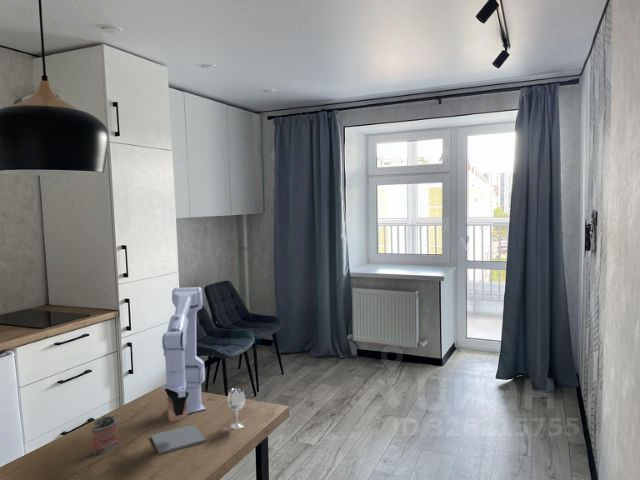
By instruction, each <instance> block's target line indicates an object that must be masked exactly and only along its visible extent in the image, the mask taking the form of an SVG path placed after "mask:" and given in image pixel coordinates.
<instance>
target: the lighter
mask: <svg viewBox="0 0 640 480" xmlns="http://www.w3.org/2000/svg"><path fill="white" fill-rule="evenodd" d="M93 425H94V427H92V428H91V434H92V446H93V447H92V455H93V456H98V455H101V454H104V453H107V452H109V451H112V450H114V449H115V448H116V447H118V446H120V440H119V427H118V426H119V420H118V419H115V415H114V414H110V415H106V414H105V415H103V416H102V418H101V417H100V418H97V419H95V420H94V421H93Z"/></svg>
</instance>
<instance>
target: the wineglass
mask: <svg viewBox="0 0 640 480" xmlns="http://www.w3.org/2000/svg"><path fill="white" fill-rule="evenodd" d="M226 403H227V406H228V408H229V409H230V410H232V411H234V414H235V423H232V424H231V425H230V426H229V427H230V429H231V430H239V429H242V428H244V426H245V425H244V423H241V422H239V421H238V418H239V417H238V416H239V410H240V411H241V410H242V409H243V408H244V407H245V405H246V395H245V392H244V389H243V388H240V387H235V388H231V389H229V390H228V395H227V402H226Z"/></svg>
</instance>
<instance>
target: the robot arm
mask: <svg viewBox="0 0 640 480" xmlns="http://www.w3.org/2000/svg"><path fill="white" fill-rule="evenodd" d="M171 301H172V304H173V305H174V307H175V313H174V314H173V315H171V317H170V319H169V323H168V327H167V330H166V331H165V333H163V334H162V338H161V343H162V344H161V345H162V346H161V347H162V349H163V350H162V351H163V357H165V359H164V360H165V384H162V389H163V390H164V391H165V393H166V395H167V398H171V400H172V403H173V407H174V412H175V415H176V416H179V415H182V414H183V410H184V405H185V401H186V405H187V415H189V414H192V413H196V412H201V411H204V410H206V407H205V406H204V404H203V403H202V384H203V383H204V382H205V380H206V368H205V360H203V359H201V358H200V357H199V356H198V355H197V314H198V311H200V310H202V309H203V306H204V305H203V304H204V303H203V288H202V287H200V286H198V287H197V286H196V287H194V286H192V287H174V288H173V289H172V292H171Z"/></svg>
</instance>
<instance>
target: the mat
mask: <svg viewBox="0 0 640 480" xmlns="http://www.w3.org/2000/svg"><path fill="white" fill-rule="evenodd" d="M150 438H151V442H152V443H153V444H154V446H155V448H156V451H157V452H158V454H159V455H162V454H166V453H170V452H174V451H177V450H180V449H185V448H189V447H192V446H196V445H200V444H203V443H206V442H207V439H206V437H204V434H202V432H201V431H200V429H199V428H198V427H197V425H196V424H191V425H186V426H184V427H179V428H175V429H170V430H168V431H167V430H166V431H163V432H157V433H154V434H151V435H150Z"/></svg>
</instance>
